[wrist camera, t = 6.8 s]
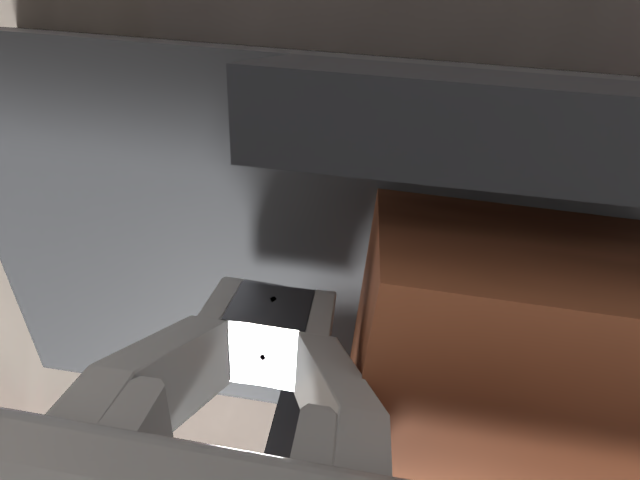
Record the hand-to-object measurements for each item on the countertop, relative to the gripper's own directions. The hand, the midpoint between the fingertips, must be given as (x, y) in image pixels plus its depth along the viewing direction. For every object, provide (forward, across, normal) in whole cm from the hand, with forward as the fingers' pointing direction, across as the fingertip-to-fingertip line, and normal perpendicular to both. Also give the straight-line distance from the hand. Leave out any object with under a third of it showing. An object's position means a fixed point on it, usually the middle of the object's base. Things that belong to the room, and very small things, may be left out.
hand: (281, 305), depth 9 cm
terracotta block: (+1, -5, 0) cm, 5 cm away
